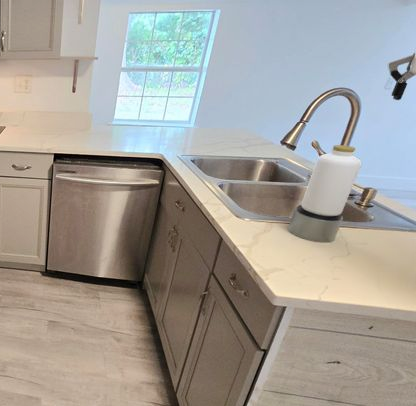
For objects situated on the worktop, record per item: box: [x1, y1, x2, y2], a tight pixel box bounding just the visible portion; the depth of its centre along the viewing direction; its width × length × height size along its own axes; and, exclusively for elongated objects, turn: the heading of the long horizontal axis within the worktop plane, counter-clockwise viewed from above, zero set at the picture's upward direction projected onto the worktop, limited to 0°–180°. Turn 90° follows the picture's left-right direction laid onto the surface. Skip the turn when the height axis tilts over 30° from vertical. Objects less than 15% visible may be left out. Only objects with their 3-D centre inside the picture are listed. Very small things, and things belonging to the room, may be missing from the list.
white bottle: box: [300, 144, 362, 216], centre depth 96 cm, size 8×8×18 cm
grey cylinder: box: [287, 204, 344, 243], centre depth 101 cm, size 10×10×7 cm
